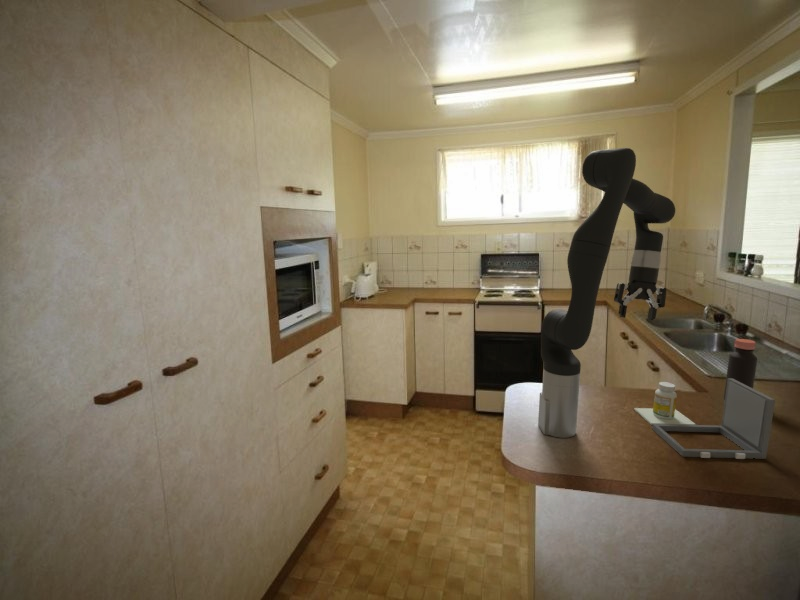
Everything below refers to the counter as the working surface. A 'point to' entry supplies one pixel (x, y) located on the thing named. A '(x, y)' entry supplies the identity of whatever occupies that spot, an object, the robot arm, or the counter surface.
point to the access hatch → (732, 425)
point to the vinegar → (742, 363)
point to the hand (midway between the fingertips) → (636, 318)
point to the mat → (652, 419)
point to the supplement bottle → (665, 401)
